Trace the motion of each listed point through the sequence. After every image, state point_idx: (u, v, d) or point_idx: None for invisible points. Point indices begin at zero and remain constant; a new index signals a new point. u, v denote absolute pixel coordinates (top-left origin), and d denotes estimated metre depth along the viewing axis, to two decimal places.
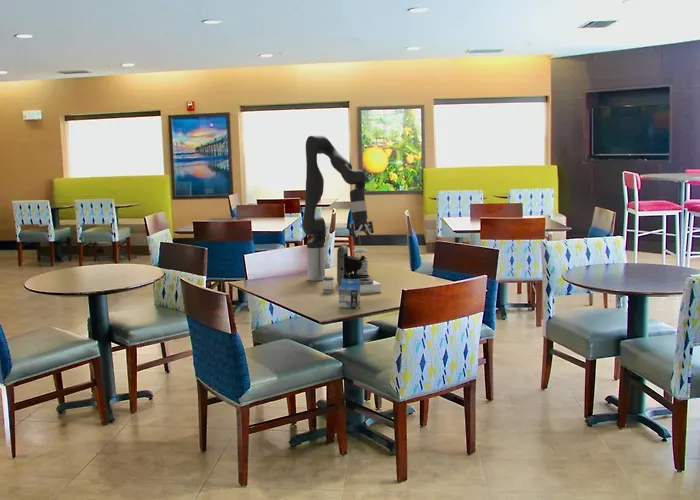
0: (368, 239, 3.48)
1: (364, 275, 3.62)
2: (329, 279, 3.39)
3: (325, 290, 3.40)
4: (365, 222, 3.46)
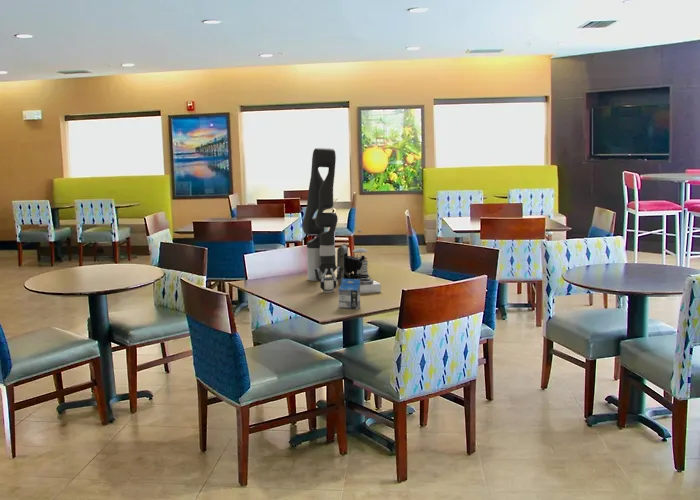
0: None
1: (364, 275, 3.62)
2: (329, 279, 3.39)
3: (325, 290, 3.40)
4: (333, 266, 3.40)
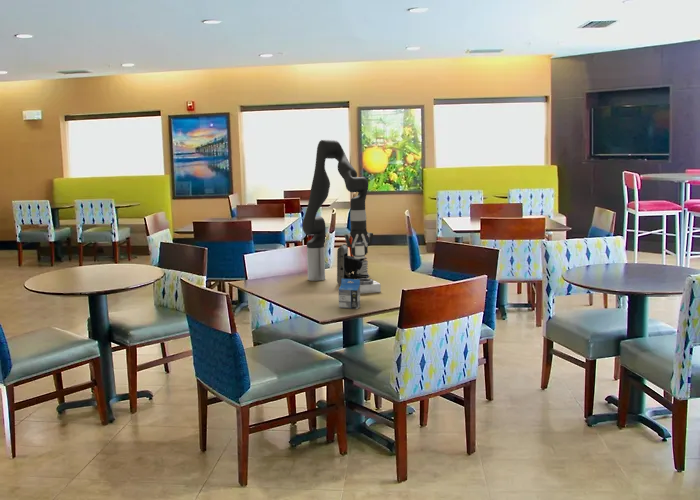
0: None
1: (364, 275, 3.62)
2: (360, 245, 3.35)
3: (356, 256, 3.36)
4: (364, 231, 3.36)
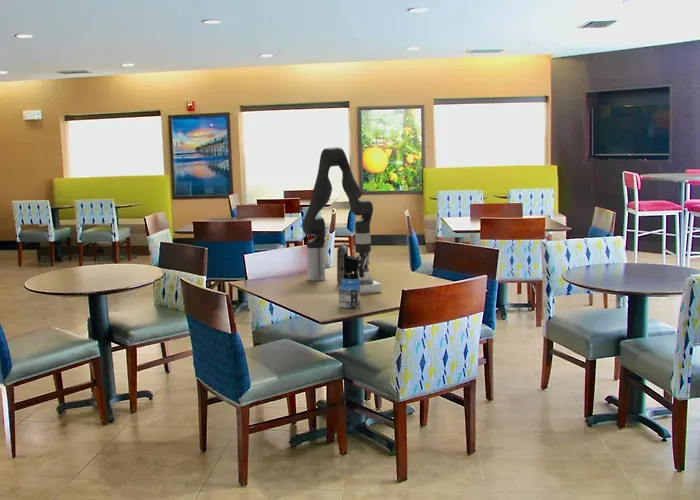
0: None
1: None
2: (368, 270, 3.39)
3: None
4: (366, 254, 3.40)
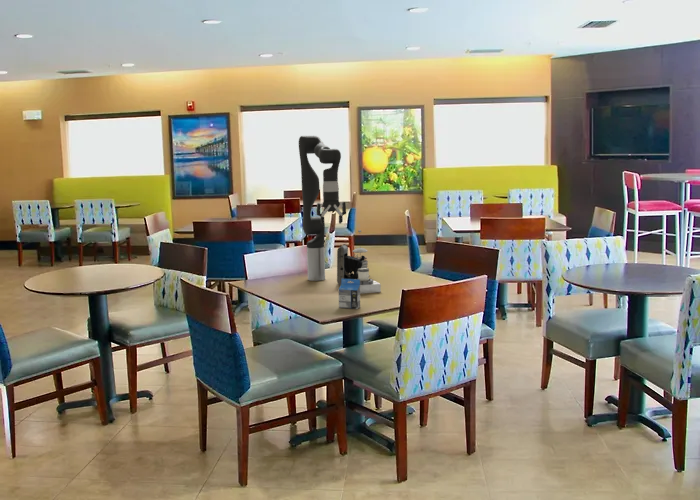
0: (339, 220, 3.45)
1: None
2: (368, 270, 3.39)
3: None
4: (336, 203, 3.43)
